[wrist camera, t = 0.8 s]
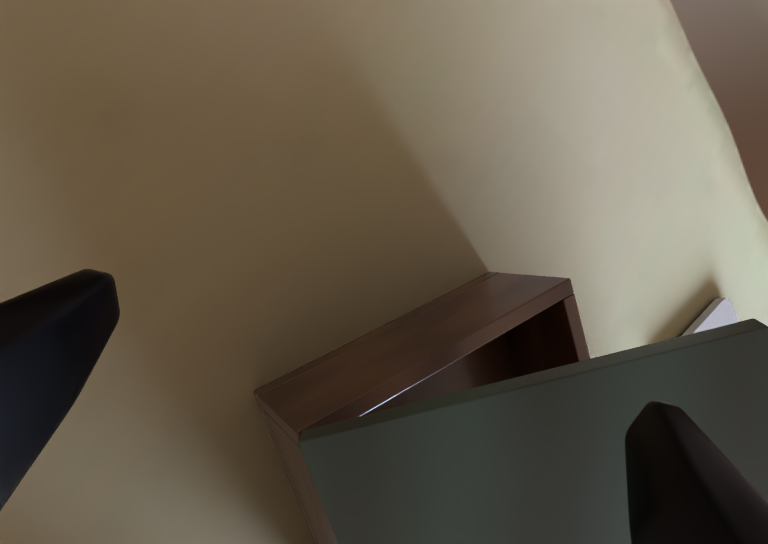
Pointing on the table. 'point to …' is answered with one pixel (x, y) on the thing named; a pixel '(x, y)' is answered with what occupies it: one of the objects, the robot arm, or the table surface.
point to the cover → (537, 446)
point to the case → (424, 364)
